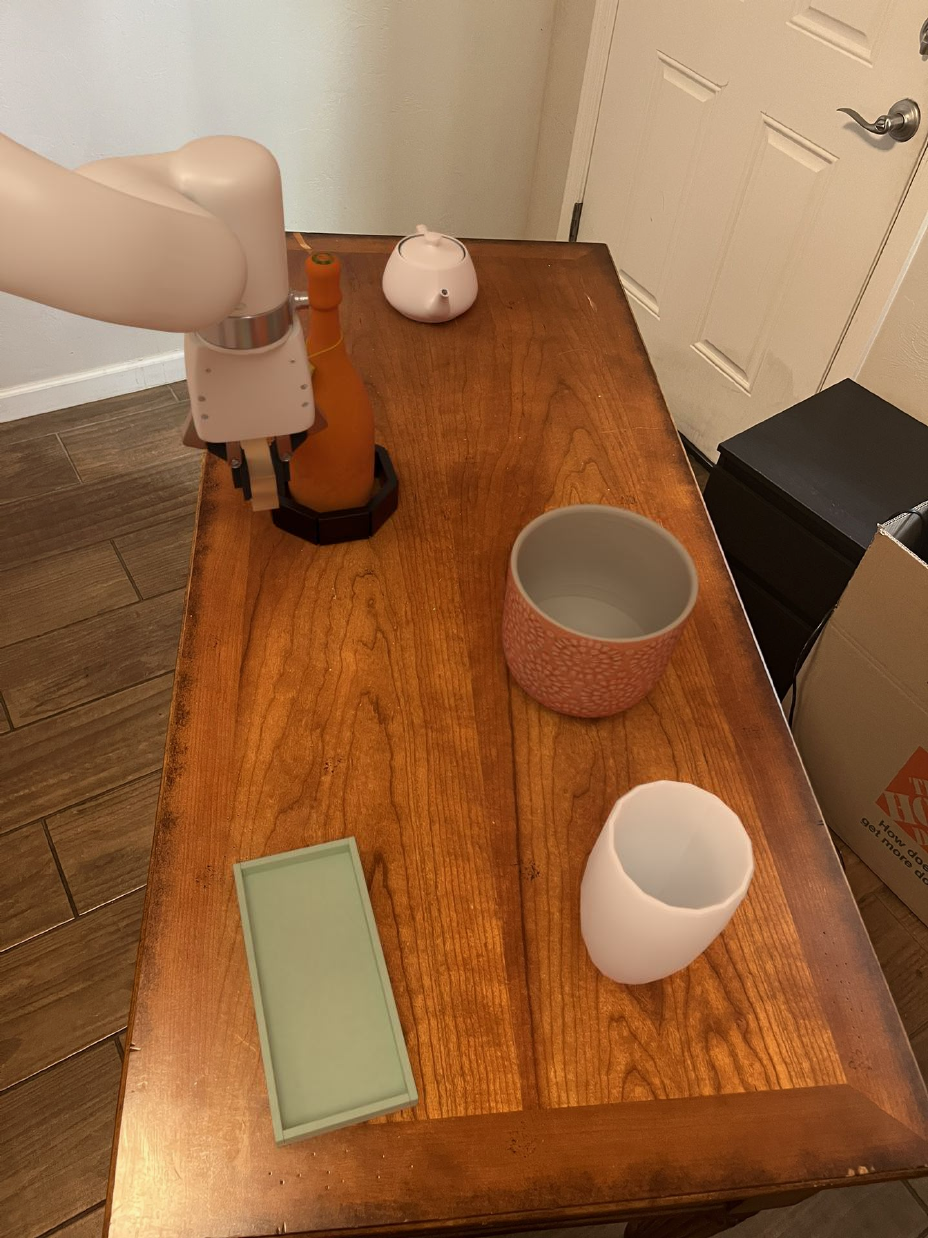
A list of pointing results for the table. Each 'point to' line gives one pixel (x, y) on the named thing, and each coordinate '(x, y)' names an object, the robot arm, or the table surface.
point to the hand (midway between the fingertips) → (262, 486)
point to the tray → (321, 992)
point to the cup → (662, 880)
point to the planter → (595, 607)
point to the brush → (261, 474)
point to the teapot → (430, 277)
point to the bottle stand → (343, 511)
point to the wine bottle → (333, 407)
